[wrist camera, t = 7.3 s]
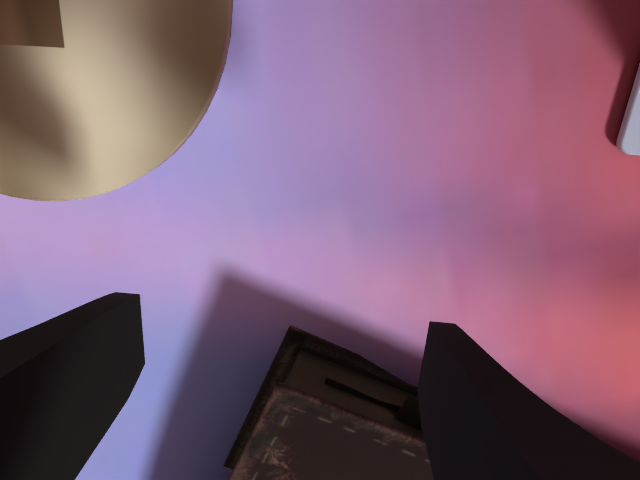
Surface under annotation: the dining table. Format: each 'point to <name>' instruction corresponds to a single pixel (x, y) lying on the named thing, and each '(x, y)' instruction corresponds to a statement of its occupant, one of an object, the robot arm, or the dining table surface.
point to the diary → (329, 419)
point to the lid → (102, 89)
